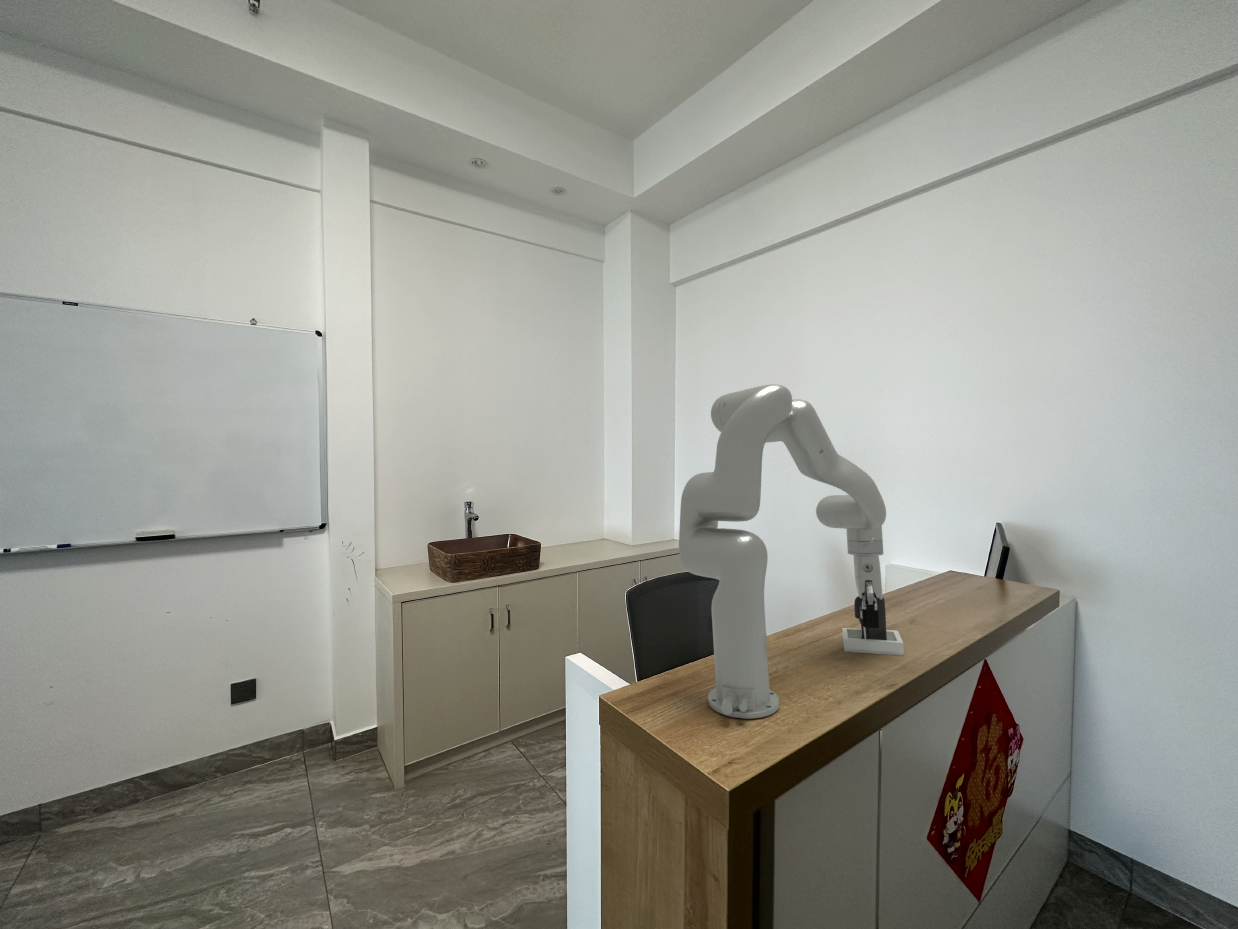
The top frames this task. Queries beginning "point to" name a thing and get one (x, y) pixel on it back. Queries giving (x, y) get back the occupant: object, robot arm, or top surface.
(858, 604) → the battery charger
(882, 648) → the tray
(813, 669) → the top surface
